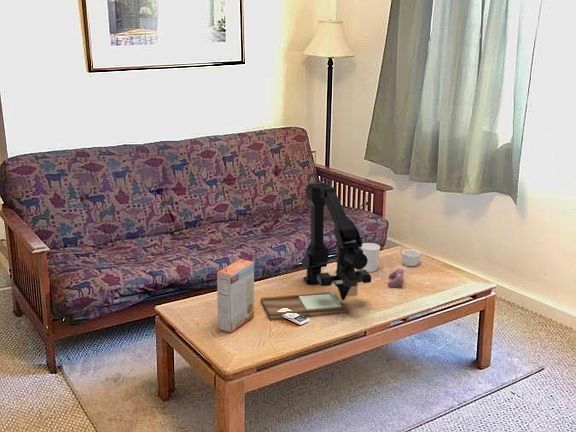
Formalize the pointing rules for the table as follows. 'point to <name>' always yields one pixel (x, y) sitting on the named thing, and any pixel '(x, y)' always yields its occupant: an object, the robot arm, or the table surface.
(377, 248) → the white cup
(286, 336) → the table surface
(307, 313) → the board
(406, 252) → the teacup
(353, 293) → the block
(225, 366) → the table surface
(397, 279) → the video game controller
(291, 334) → the table surface
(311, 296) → the lid
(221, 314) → the cracker box
